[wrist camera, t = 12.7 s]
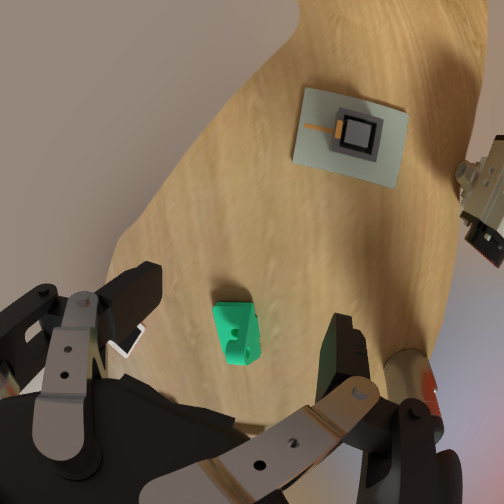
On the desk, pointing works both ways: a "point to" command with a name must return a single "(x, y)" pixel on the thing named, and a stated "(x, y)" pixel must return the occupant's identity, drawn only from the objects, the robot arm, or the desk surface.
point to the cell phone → (129, 341)
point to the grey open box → (373, 138)
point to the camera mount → (237, 331)
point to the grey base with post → (349, 137)
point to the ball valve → (484, 202)
